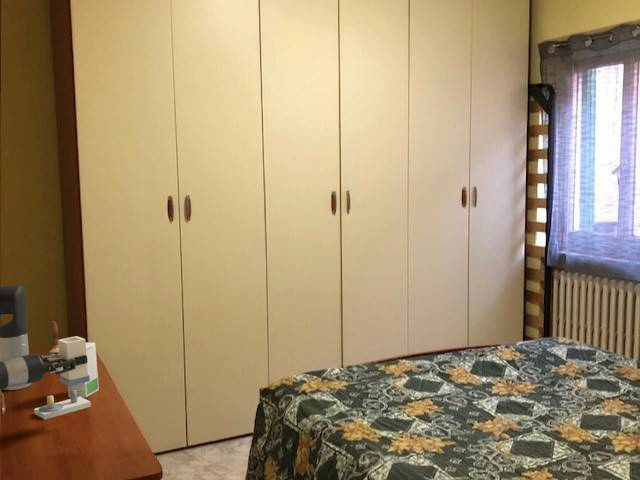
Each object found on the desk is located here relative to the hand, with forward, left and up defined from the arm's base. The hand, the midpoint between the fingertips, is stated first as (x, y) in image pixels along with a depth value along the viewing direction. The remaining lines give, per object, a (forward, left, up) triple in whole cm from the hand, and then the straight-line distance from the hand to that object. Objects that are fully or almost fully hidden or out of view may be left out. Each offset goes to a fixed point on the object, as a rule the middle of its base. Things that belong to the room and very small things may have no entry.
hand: (81, 356), depth 200 cm
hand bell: (-28, +56, -18) cm, 65 cm away
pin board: (-9, +7, -18) cm, 21 cm away
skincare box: (-8, +22, -18) cm, 29 cm away
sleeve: (-2, -2, -7) cm, 7 cm away
